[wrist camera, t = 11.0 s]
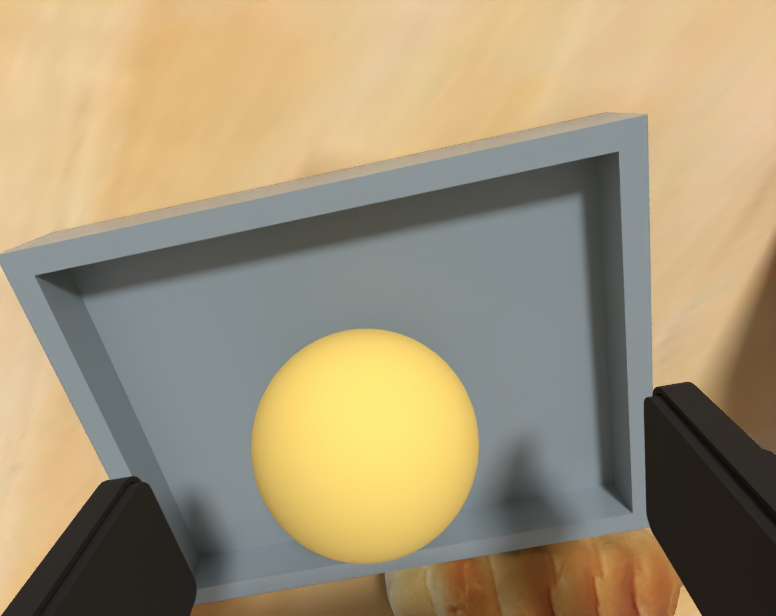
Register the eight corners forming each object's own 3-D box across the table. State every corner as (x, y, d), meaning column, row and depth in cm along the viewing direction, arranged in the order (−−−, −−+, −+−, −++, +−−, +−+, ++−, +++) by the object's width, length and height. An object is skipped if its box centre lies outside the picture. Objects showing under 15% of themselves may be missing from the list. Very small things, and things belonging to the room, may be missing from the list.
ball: (446, 278, 13) (480, 380, 8) (474, 442, 15) (515, 601, 10) (252, 317, 13) (180, 434, 9) (304, 472, 15) (267, 638, 10)
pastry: (655, 463, 16) (732, 563, 13) (659, 607, 19) (724, 724, 15) (368, 518, 17) (367, 629, 13) (409, 651, 20) (418, 773, 16)
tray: (606, 112, 12) (648, 114, 10) (623, 477, 16) (655, 526, 14) (49, 233, 13) (-5, 255, 11) (197, 553, 17) (175, 608, 15)
